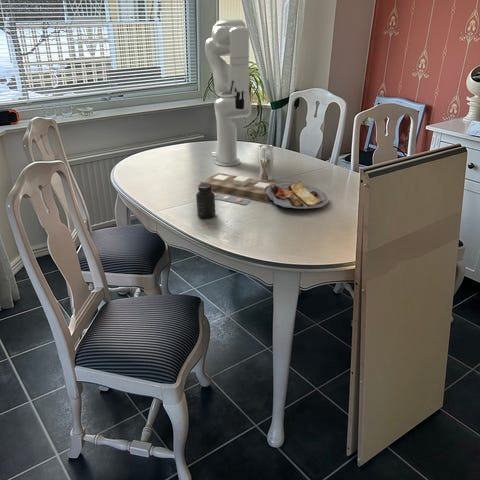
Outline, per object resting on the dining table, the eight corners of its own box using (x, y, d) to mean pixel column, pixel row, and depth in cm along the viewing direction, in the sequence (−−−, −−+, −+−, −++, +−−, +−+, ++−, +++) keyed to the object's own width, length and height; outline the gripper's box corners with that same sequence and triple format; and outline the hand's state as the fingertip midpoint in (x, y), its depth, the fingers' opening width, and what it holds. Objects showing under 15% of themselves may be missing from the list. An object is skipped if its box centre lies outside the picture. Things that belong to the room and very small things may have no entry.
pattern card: (202, 196, 192) (202, 195, 192) (209, 192, 196) (209, 191, 196) (245, 205, 183) (245, 204, 183) (251, 201, 187) (251, 199, 187)
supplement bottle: (206, 210, 179) (204, 180, 174) (219, 215, 175) (218, 184, 170) (193, 216, 175) (191, 185, 169) (206, 220, 171) (205, 190, 165)
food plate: (257, 188, 193) (258, 180, 191) (308, 184, 200) (309, 177, 199) (281, 216, 173) (282, 207, 171) (336, 211, 180) (338, 203, 179)
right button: (253, 192, 193) (253, 185, 192) (259, 188, 197) (259, 181, 196) (264, 194, 191) (265, 187, 190) (270, 190, 195) (270, 183, 194)
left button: (213, 184, 202) (212, 178, 201) (219, 181, 206) (219, 174, 205) (223, 186, 200) (223, 180, 199) (229, 183, 204) (229, 176, 203)
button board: (200, 188, 201) (200, 181, 199) (218, 179, 212) (218, 172, 210) (267, 201, 187) (267, 194, 185) (282, 190, 197) (282, 184, 196)
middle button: (232, 186, 197) (232, 179, 196) (239, 182, 201) (238, 175, 200) (243, 188, 195) (243, 181, 194) (249, 184, 199) (249, 177, 198)
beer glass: (272, 182, 207) (272, 149, 200) (256, 181, 208) (257, 148, 202) (274, 177, 213) (275, 144, 207) (259, 176, 215) (259, 144, 208)
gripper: (240, 59, 192) (240, 104, 201) (221, 63, 181) (222, 111, 189) (256, 60, 189) (256, 106, 197) (238, 63, 177) (238, 112, 186)
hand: (239, 108), depth 193 cm, fingers closed
